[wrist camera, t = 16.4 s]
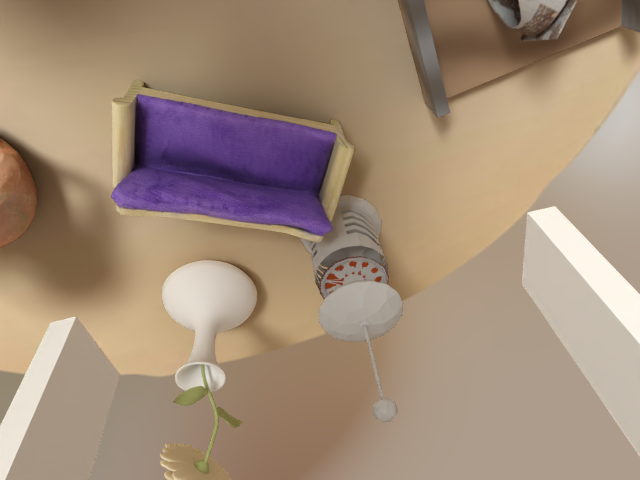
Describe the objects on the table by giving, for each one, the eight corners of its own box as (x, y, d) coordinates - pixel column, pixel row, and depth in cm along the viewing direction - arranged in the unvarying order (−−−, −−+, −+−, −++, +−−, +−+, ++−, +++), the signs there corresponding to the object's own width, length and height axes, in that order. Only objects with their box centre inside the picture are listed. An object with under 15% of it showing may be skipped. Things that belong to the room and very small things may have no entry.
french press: (353, 179, 51) (413, 358, 31) (403, 244, 58) (480, 429, 38) (282, 225, 54) (296, 418, 34) (337, 283, 60) (376, 475, 40)
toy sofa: (346, 119, 47) (364, 165, 39) (325, 192, 52) (337, 246, 44) (128, 73, 43) (97, 115, 34) (126, 158, 47) (99, 213, 39)
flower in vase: (144, 274, 56) (81, 483, 36) (228, 237, 54) (210, 437, 34) (203, 338, 64) (178, 541, 44) (278, 308, 62) (288, 505, 42)
